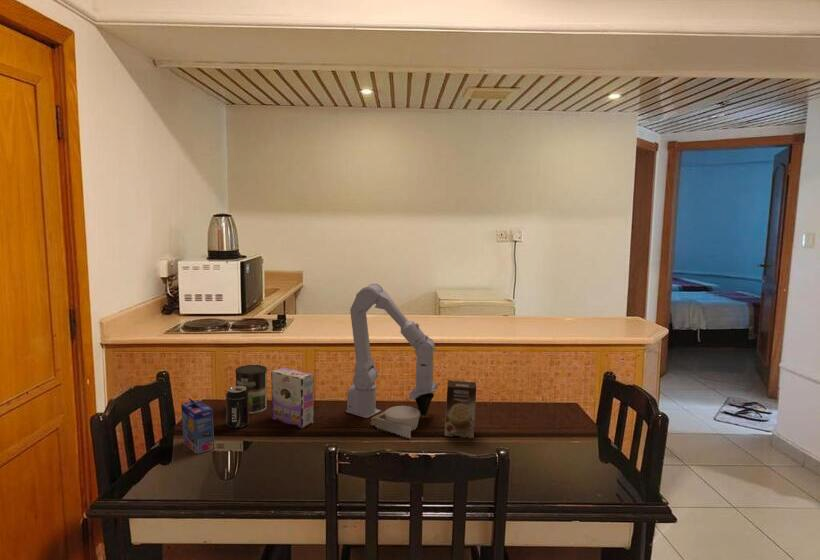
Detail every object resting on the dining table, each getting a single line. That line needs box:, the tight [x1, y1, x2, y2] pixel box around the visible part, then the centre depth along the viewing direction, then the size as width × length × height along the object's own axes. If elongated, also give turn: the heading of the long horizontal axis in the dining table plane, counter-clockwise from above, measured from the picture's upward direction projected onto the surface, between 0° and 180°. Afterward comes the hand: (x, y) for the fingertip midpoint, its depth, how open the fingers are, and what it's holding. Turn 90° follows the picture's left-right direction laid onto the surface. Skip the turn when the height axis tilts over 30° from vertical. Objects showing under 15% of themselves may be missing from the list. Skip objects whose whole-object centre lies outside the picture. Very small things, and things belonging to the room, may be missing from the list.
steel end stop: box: [375, 417, 412, 439], centre depth 164 cm, size 13×1×4 cm, turn 56°
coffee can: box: [235, 364, 268, 415], centre depth 181 cm, size 10×10×14 cm
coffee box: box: [444, 379, 477, 439], centre depth 165 cm, size 9×6×16 cm
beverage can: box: [225, 385, 250, 429], centre depth 167 cm, size 7×7×12 cm
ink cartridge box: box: [180, 397, 215, 455], centre depth 151 cm, size 10×6×14 cm, turn 44°
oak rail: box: [370, 410, 386, 426], centre depth 175 cm, size 2×14×2 cm, turn 146°
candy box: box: [270, 367, 315, 429], centre depth 171 cm, size 14×6×16 cm, turn 58°
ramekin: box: [385, 405, 421, 432], centre depth 169 cm, size 11×11×5 cm
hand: (423, 414), depth 177 cm, fingers closed
